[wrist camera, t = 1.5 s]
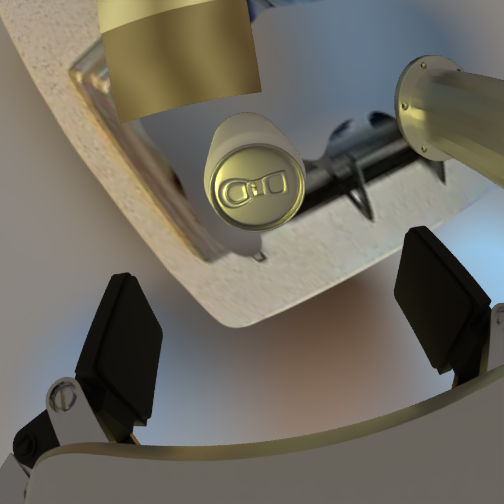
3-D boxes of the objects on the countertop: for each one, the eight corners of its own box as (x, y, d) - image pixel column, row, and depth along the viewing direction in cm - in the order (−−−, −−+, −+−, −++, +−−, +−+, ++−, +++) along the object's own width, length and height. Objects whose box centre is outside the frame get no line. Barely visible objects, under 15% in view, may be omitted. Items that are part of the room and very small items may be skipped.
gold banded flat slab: (229, -77, 12) (229, -83, 11) (259, 91, 23) (261, 91, 22) (99, -42, 12) (93, -46, 11) (125, 121, 24) (119, 123, 22)
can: (204, 121, 25) (186, 152, 15) (272, 105, 24) (303, 125, 14) (222, 182, 28) (218, 248, 18) (285, 167, 28) (318, 225, 18)
